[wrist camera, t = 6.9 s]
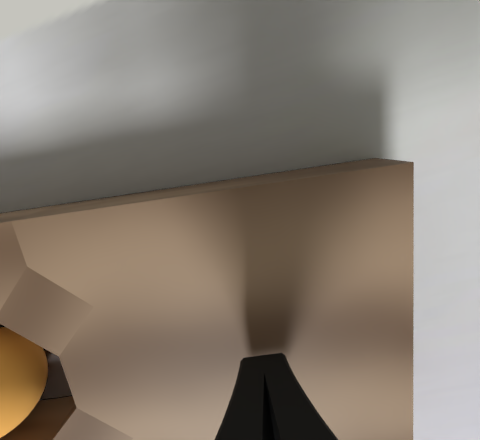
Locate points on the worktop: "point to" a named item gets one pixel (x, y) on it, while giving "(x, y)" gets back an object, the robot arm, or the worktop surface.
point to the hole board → (219, 301)
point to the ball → (19, 378)
